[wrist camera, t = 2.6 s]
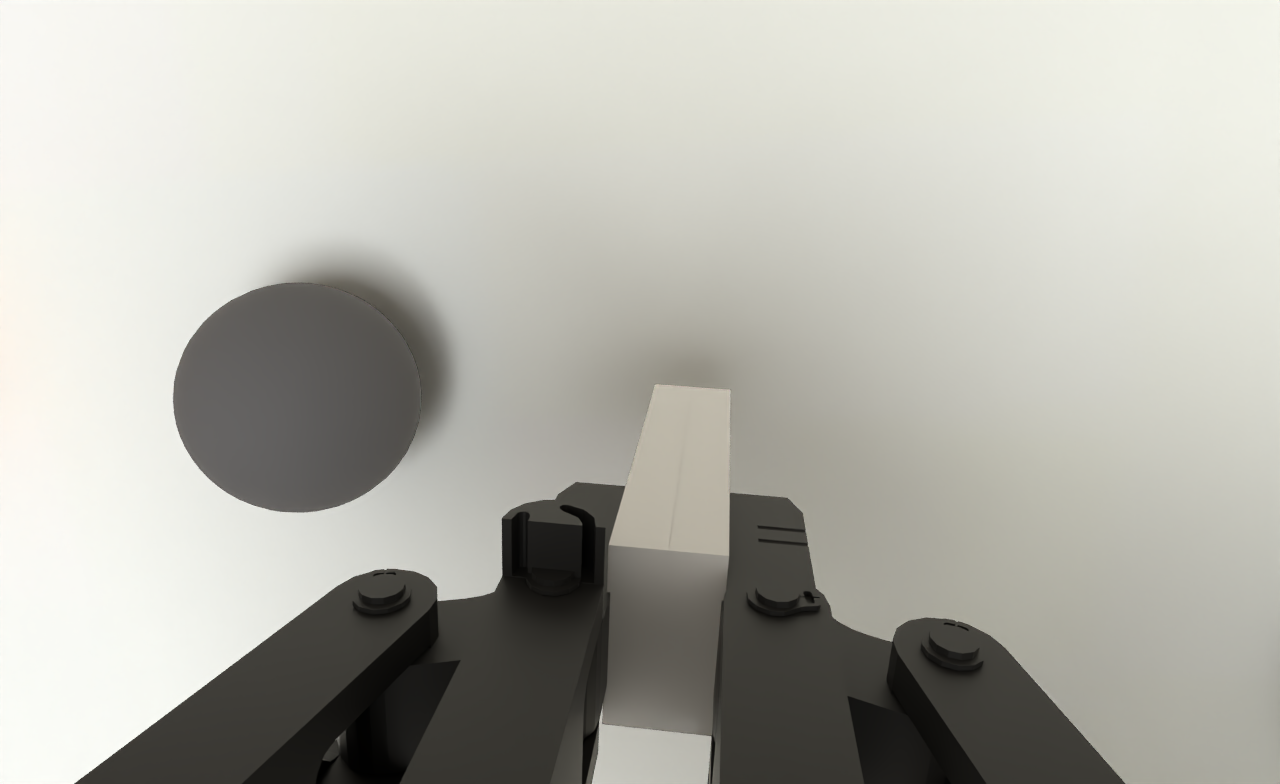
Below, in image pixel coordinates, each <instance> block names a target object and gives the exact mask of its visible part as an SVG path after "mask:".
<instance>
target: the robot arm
mask: <svg viewBox="0 0 1280 784" xmlns="http://www.w3.org/2000/svg"><path fill="white" fill-rule="evenodd" d="M730 402H731V390H730V389H716V388H703V387H689V386H676V385H662V384H655V387H654V390H653V394H652V397H651V400H650V404H649V407H648V411H647V414H646V418H645V421H644V425H643V428H642V431H641V435H640V438H639V442H638V445H637V449H636V452H635V456H634V459H633V462H632V466H631V469H630V473H629V476H628V480H627V483H626V486H615V485H603V484H592V483H580V482H576V483H574V484H573V485H571V486H570V487H568V488H567V489H565V490H564V491H562V492H561V493H559V494H558V496H557V498H556V500H542V501H536V502H531V503H526V504H523V505H521V506H519V507H516V508H514V509H512V510H510V511H509V512H508V513H507V514H506V515H505V516H504V517H503V518H502V573H503V576H502V578H501V580H500V582H499V584H498V586H497V588H496V590H495V592H493V593H490V594H487V595H484V596H479V597H473V598H467V599H457V600H447V601H437V586H436V585H435V584H434V583H433V582H432V581H431V580H430V579H429V578H428V577H426V576H424V575H421V574H419V573H416V572H414V571H405V570H398V569H387V570H384V569H382V570H375V571H372V572H369V573H366V574H362V575H359V576H355V577H353V578H351V579H349V580H348V581H346V582H344V583H342V584H340V585H338V586H337V587H336V588H334V589H333V590H332V591H330V592H329V593H328V594H326V595H325V596H324V597H322V598H321V599H320V600H318V601H317V602H316V603H314V604H313V605H312V606H310V607H309V608H308V609H306V610H305V611H304V612H302V613H301V614H300V615H298V616H297V617H296V618H294V619H293V620H292V621H290V622H289V623H288V624H286V625H285V626H284V627H282V628H281V629H280V630H278V631H277V632H276V633H274V634H273V635H272V636H270V637H269V638H268V639H266V640H265V641H264V642H262V643H261V644H260V645H258V646H257V647H256V648H254V649H253V650H252V651H250V652H249V653H248V654H246V655H245V656H244V657H242V658H241V659H240V660H238V661H237V662H236V663H234V664H233V665H232V666H230V667H229V668H228V669H226V670H225V671H224V672H222V673H221V674H220V675H218V676H217V677H216V678H214V679H213V680H212V681H210V682H209V683H208V684H206V685H205V686H204V687H202V688H201V689H200V690H198V691H197V692H196V693H194V694H193V695H192V696H190V697H189V698H188V699H186V700H185V701H184V702H182V703H181V704H180V705H178V706H177V707H176V708H174V709H173V710H172V711H171V712H169V713H168V714H167V715H165V716H164V717H163V718H161V719H160V720H159V721H157V722H156V723H155V724H153V725H152V726H151V727H149V728H148V729H147V730H145V731H144V732H143V733H141V734H140V735H139V736H137V737H136V738H135V739H133V740H132V741H131V742H129V743H128V744H127V745H125V746H124V747H123V748H121V749H120V750H119V751H117V752H116V753H115V754H113V755H112V756H111V757H109V758H108V759H107V760H105V761H104V762H103V763H101V764H100V765H99V766H97V767H96V768H95V769H93V770H92V771H91V772H89V773H88V774H87V775H85V776H84V777H83V778H81V779H80V780H79V781H77V782H76V783H75V784H592V779H593V774H594V769H595V764H596V760H597V755H598V740H599V719H600V714H601V710H602V705H603V719H602V724H607V725H616V726H625V727H634V728H643V729H653V730H662V731H671V732H680V733H689V734H698V735H707V736H712V740H711V752H710V763H709V775H708V784H1125V783H1124V782H1123V780H1122V779H1121V778H1120V777H1119V776H1118V775H1117V774H1116V773H1115V771H1114V770H1113V769H1112V768H1111V767H1110V766H1109V765H1108V764H1107V762H1106V761H1105V760H1104V759H1103V758H1102V757H1101V756H1100V755H1099V753H1098V752H1097V751H1096V750H1095V749H1094V748H1093V747H1092V746H1091V744H1090V743H1089V742H1088V741H1087V740H1086V739H1085V738H1084V736H1083V735H1082V734H1081V733H1080V732H1079V731H1078V730H1077V729H1076V727H1075V726H1074V725H1073V724H1072V723H1071V722H1070V721H1069V720H1068V718H1067V717H1066V716H1065V715H1064V714H1063V713H1062V712H1061V711H1060V709H1059V708H1058V707H1057V706H1056V705H1055V704H1054V703H1053V702H1052V700H1051V699H1050V698H1049V697H1048V696H1047V695H1046V694H1045V692H1044V691H1043V690H1042V689H1041V688H1040V687H1039V686H1038V685H1037V683H1036V682H1035V681H1034V680H1033V679H1032V678H1031V677H1030V676H1029V674H1028V673H1027V672H1026V671H1025V670H1024V669H1023V668H1022V667H1021V665H1020V664H1019V663H1018V662H1017V661H1016V660H1015V659H1014V658H1013V656H1012V655H1011V654H1010V653H1009V652H1008V651H1007V650H1006V648H1004V647H1003V646H1002V645H1001V644H1000V643H998V642H997V641H996V640H995V639H994V638H992V637H991V636H990V635H988V634H986V633H984V632H982V631H980V630H978V629H976V628H974V627H972V626H970V625H968V624H965V623H962V622H959V621H958V622H955V620H949V619H937V618H922V619H916V620H911V621H908V622H906V623H904V624H903V625H901V626H900V627H898V628H897V629H896V632H895V635H894V638H893V642H889V641H886V640H882V639H879V638H875V637H872V636H869V635H866V634H863V633H860V632H858V631H855V630H852V629H850V628H849V627H847V626H845V625H843V624H841V623H839V622H838V621H836V620H835V619H834V618H833V617H832V614H831V609H830V605H829V604H828V602H827V600H826V598H825V596H824V595H823V594H822V593H821V592H819V591H818V590H817V589H816V588H815V582H814V576H813V570H812V565H811V559H810V553H809V547H808V542H807V536H806V533H805V524H804V519H803V513H802V512H801V511H800V510H799V509H798V508H797V507H796V506H795V505H794V504H793V503H792V502H791V501H790V500H789V499H788V498H783V497H771V496H759V495H748V494H736V493H730Z"/></svg>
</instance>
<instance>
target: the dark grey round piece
mask: <svg viewBox="0 0 1280 784" xmlns="http://www.w3.org/2000/svg"><path fill="white" fill-rule="evenodd" d="M173 404H174V415H175V420H176V425H177V428H178V431H179V434H180V437H181V439H182V441H183V444H184V446H185V448H186V450H187V451H188V453H189V455H190V456H191V458H192V459H193V461H194V462H195V463H196V465H197V466H198V467H199V469H200V470H201V471H202V472H203V473H204V474H205V475H206V476H207V477H208V478H209V479H210V480H211V481H212V482H214V483H215V484H216V485H217V486H218V487H220V488H221V489H223V490H224V491H226V492H227V493H228V494H230V495H232V496H234V497H236V498H238V499H239V500H242V501H244V502H247V503H249V504H252V505H255V506H258V507H261V508H265V509H269V510H274V511H280V512H313V511H320V510H324V509H328V508H333V507H337V506H340V505H342V504H345V503H347V502H350V501H352V500H354V499H356V498H358V497H360V496H362V495H364V494H365V493H367V492H369V491H370V490H371V489H373V488H374V487H375V486H376V485H378V484H379V483H380V482H382V481H383V480H384V479H385V478H386V477H387V476H388V475H389V474H390V473H391V472H392V471H393V470H394V469H395V468H396V466H397V465H398V464H399V462H400V461H401V460H402V458H403V457H404V455H405V454H406V452H407V450H408V448H409V446H410V444H411V442H412V440H413V437H414V435H415V432H416V429H417V426H418V423H419V417H420V411H421V384H420V377H419V373H418V369H417V365H416V363H415V360H414V357H413V355H412V353H411V351H410V349H409V347H408V345H407V343H406V341H405V340H404V338H403V337H402V335H401V334H400V332H399V331H398V330H397V329H396V328H395V326H394V325H393V324H392V323H391V322H390V321H389V320H388V319H387V318H386V317H385V316H384V315H383V314H382V313H381V312H380V311H378V310H377V309H376V308H374V307H373V306H372V305H370V304H369V303H367V302H366V301H364V300H362V299H360V298H358V297H357V296H354V295H352V294H349V293H347V292H345V291H342V290H339V289H336V288H332V287H329V286H325V285H318V284H311V283H284V284H277V285H271V286H266V287H263V288H259V289H256V290H253V291H250V292H248V293H246V294H244V295H242V296H240V297H237V298H235V299H233V300H231V301H230V302H228V303H227V304H225V305H224V306H222V307H221V308H219V309H218V310H217V311H216V312H214V313H213V314H212V315H211V316H210V317H209V318H208V319H207V320H206V321H205V322H203V324H202V325H201V326H200V328H199V329H198V330H197V331H196V333H195V334H194V335H193V337H192V338H191V339H190V341H189V343H188V345H187V346H186V348H185V350H184V352H183V355H182V357H181V360H180V363H179V365H178V368H177V371H176V376H175V381H174V393H173Z"/></svg>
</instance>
